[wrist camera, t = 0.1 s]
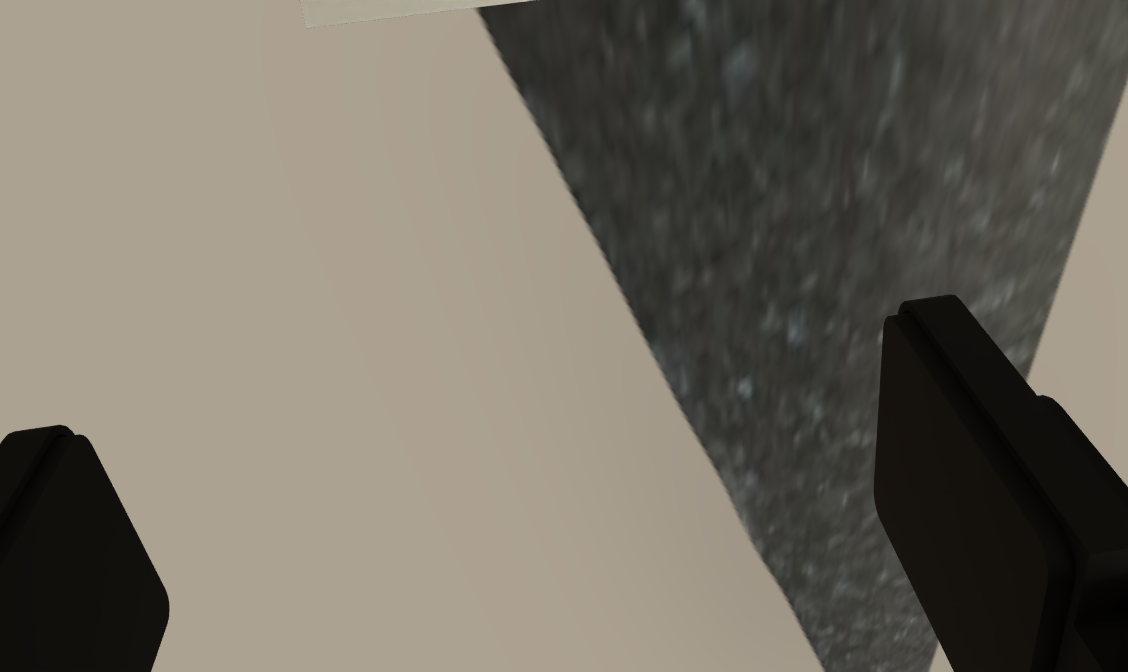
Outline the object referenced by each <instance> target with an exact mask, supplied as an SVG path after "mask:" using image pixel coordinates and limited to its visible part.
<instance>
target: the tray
mask: <svg viewBox="0 0 1128 672" xmlns="http://www.w3.org/2000/svg"><path fill="white" fill-rule="evenodd" d="M524 1H532V0H300V4H301V8H302V12H303V16H304V20H305V24H306V28H315V27H322V26H330V25H339V24H347V23H355V22H362V21H371V20H379V19H387V18H394V17H403V16H411V15H419V14H427V13H435V12H443V11H451V10H459V9H467V8H475V7H483V6H492V5H500V4H508V3H516V2H524Z"/></svg>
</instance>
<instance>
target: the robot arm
mask: <svg viewBox="0 0 1128 672" xmlns="http://www.w3.org/2000/svg"><path fill="white" fill-rule="evenodd" d="M874 499H875V505H876V509H877V513H878V516H879V518H880V521H881V523H882V525H883V527H884V529H885V531H886V533H887V535H888V537H889V539H890V541H891V543H892V546H893V548H894V550H895V552H896V554H897V556H898V558H899V560H900V562H901V564H902V566H903V568H904V570H905V572H906V574H907V576H908V578H909V580H910V582H911V585H912V587H913V589H914V591H915V593H916V595H917V597H918V599H919V601H920V603H921V605H922V607H923V609H924V611H925V613H926V615H927V617H928V619H929V621H930V624H931V626H932V628H933V630H934V632H935V634H936V636H937V638H938V640H939V642H940V644H941V646H942V648H943V650H944V652H945V654H946V656H947V658H948V660H949V663H950V664H951V667H952V669H953V671H954V672H1128V487H1127V485H1126V484H1125V483H1124V482H1123V481H1122V479H1121V478H1120V477H1119V476H1118V475H1117V473H1116V472H1115V471H1114V470H1113V468H1112V467H1111V466H1110V465H1109V464H1108V462H1107V461H1106V460H1105V459H1104V458H1103V456H1102V455H1101V454H1100V453H1099V451H1098V450H1097V449H1096V448H1095V447H1094V445H1093V444H1092V443H1091V442H1090V441H1089V439H1088V438H1087V437H1086V436H1085V435H1084V433H1083V432H1082V431H1081V430H1080V428H1078V426H1077V425H1076V424H1075V422H1074V421H1073V420H1072V419H1071V418H1070V416H1069V415H1068V414H1067V413H1066V411H1065V410H1064V409H1063V408H1062V407H1061V406H1060V405H1059V404H1058V403H1057V402H1056V401H1055V400H1054V399H1053V398H1050V397H1047V396H1044V395H1041V396H1037V395H1036V394H1035V392H1034V391H1033V390H1032V389H1031V387H1030V386H1029V385H1028V384H1027V382H1026V381H1025V380H1024V379H1023V377H1022V376H1021V375H1020V374H1019V372H1018V371H1017V370H1016V369H1015V367H1014V366H1013V365H1012V364H1011V362H1010V361H1009V360H1008V359H1007V357H1006V356H1005V355H1004V354H1003V352H1002V351H1001V350H1000V349H999V348H998V346H997V345H996V344H995V343H994V341H993V340H992V339H991V338H990V336H989V335H988V334H987V333H986V331H985V330H984V329H983V328H982V326H981V325H980V324H979V323H978V321H977V320H976V319H975V318H974V316H973V315H972V314H971V313H970V311H969V310H968V309H967V308H966V306H965V305H964V304H963V303H962V301H961V300H960V299H959V298H958V297H957V296H955V295H944V296H937V297H930V298H923V299H916V300H910V301H904V302H903V303H902V304H901V306H900V308H899V311H898V315H893V316H888V317H887V318H886V319H885V322H884V328H883V343H882V359H881V376H880V393H879V409H878V426H877V442H876V459H875V476H874ZM168 619H169V600H168V595H167V592H166V590H165V587H164V586H163V584H162V582H161V580H160V578H159V576H158V574H157V572H156V570H155V568H154V566H153V564H152V562H151V560H150V558H149V556H148V554H147V552H146V550H145V548H144V546H143V544H142V542H141V540H140V538H139V536H138V534H137V532H136V531H135V529H134V527H133V525H132V523H131V521H130V519H129V517H128V515H127V513H126V511H125V509H124V507H123V505H122V503H121V501H120V499H119V497H118V495H117V493H116V491H115V489H114V487H113V485H112V483H111V481H110V479H109V478H108V475H107V474H106V472H105V470H104V468H103V466H102V464H101V462H100V460H99V458H98V456H97V454H96V452H95V450H94V448H93V446H92V444H91V443H90V441H89V440H88V439H87V438H86V437H85V436H84V435H75V434H74V433H73V432H72V431H71V430H70V429H69V428H68V427H67V426H63V425H55V426H49V427H42V428H35V429H28V430H21V431H15V432H12V433H10V434H8V435H7V436H6V437H5V438H4V439H3V441H2V442H1V444H0V672H151V670H152V667H153V664H154V661H155V659H156V656H157V653H158V650H159V647H160V644H161V641H162V638H163V635H164V632H165V629H166V627H167V623H168Z"/></svg>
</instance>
